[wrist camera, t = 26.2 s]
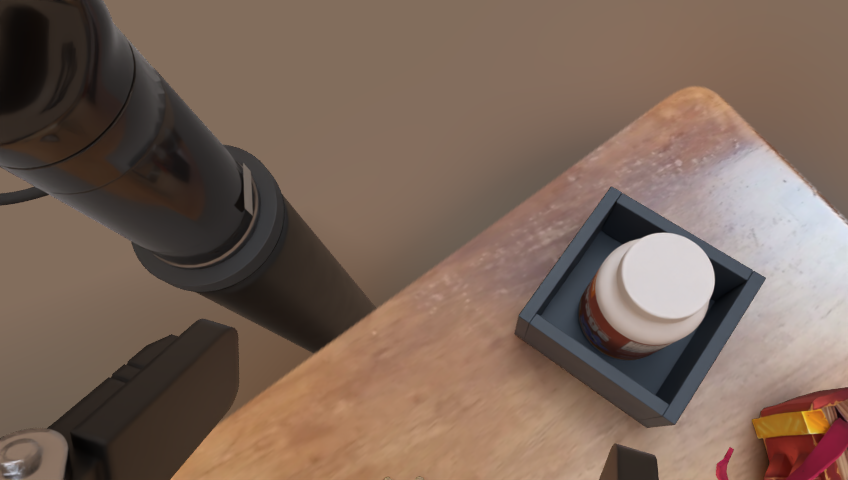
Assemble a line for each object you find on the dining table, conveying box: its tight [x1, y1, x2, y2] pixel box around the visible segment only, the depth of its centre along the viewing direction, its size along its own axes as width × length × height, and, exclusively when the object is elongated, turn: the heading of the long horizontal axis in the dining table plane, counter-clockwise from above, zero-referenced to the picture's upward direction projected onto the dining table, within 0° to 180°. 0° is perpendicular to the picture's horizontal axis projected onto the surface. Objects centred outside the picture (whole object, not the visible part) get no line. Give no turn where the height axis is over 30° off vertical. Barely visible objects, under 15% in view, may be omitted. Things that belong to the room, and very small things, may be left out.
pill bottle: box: [578, 233, 715, 360], centre depth 36 cm, size 6×6×11 cm
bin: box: [515, 187, 766, 428], centre depth 39 cm, size 11×11×6 cm
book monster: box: [716, 387, 848, 480], centre depth 33 cm, size 11×9×12 cm
